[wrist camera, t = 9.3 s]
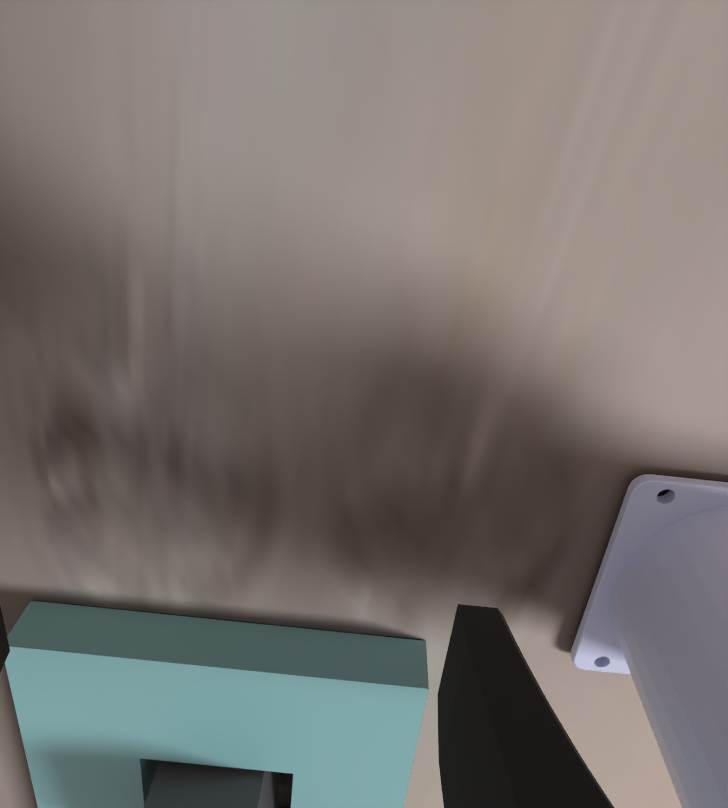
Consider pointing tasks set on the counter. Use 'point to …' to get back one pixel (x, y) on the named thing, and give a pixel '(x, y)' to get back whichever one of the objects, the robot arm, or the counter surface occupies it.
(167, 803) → the plug
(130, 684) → the socket plate
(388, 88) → the counter surface
